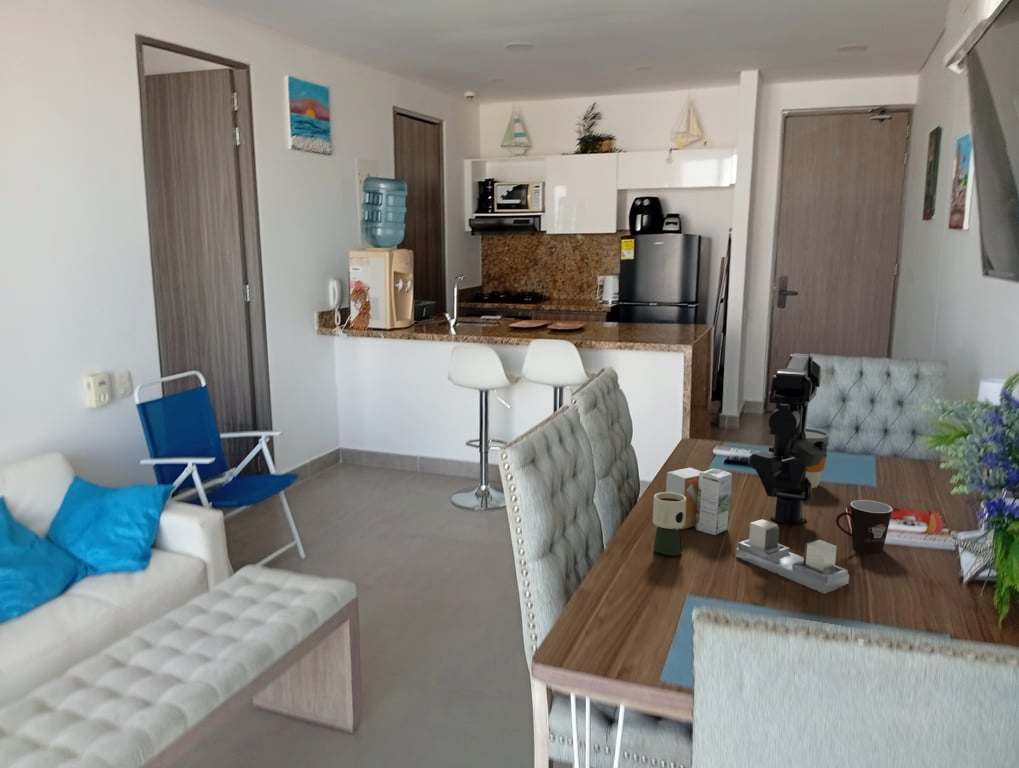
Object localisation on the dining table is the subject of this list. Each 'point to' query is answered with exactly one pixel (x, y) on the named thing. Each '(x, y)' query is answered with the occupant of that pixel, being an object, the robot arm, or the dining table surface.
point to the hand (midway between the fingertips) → (783, 492)
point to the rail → (800, 564)
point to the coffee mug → (868, 525)
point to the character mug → (668, 522)
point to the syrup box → (713, 501)
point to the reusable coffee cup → (816, 470)
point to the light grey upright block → (764, 535)
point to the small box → (685, 491)
